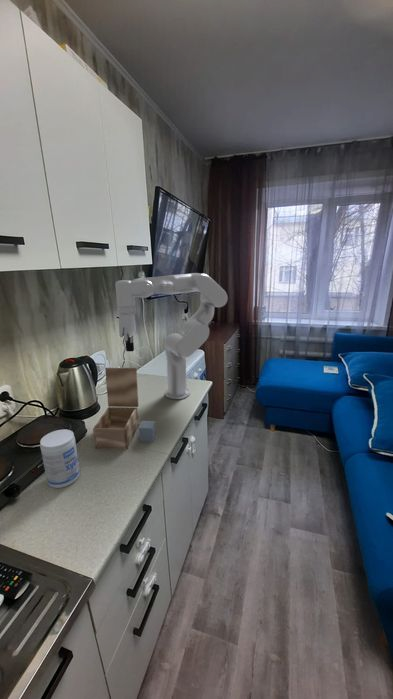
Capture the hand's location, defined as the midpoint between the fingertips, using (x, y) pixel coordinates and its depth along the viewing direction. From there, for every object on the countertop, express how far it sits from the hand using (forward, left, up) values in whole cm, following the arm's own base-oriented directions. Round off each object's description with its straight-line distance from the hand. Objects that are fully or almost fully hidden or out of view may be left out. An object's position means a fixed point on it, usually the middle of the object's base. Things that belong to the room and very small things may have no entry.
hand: (130, 350), depth 127 cm
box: (+25, 0, -27) cm, 37 cm away
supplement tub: (+48, -10, -27) cm, 56 cm away
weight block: (+26, +12, -27) cm, 39 cm away
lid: (+16, 0, -11) cm, 19 cm away
